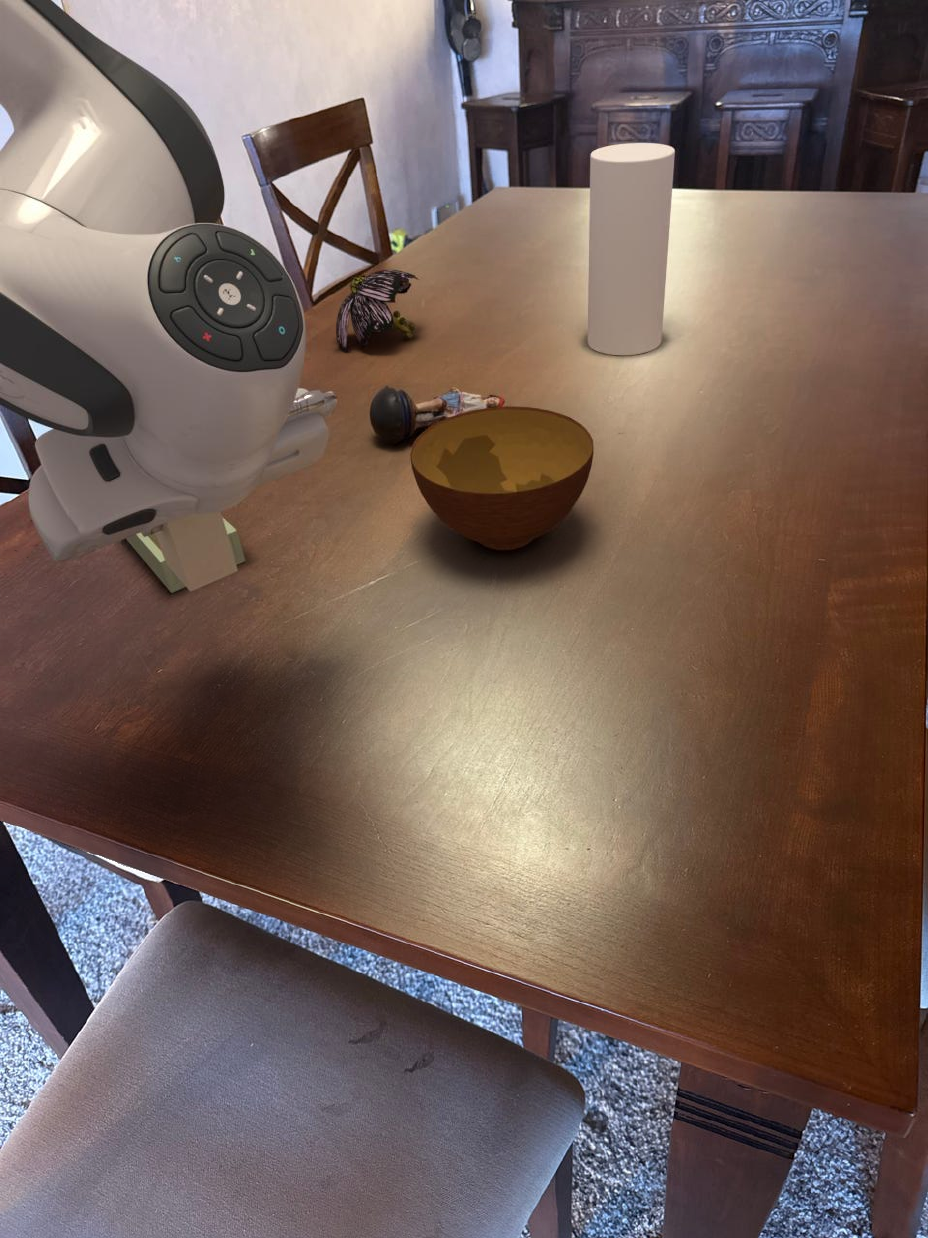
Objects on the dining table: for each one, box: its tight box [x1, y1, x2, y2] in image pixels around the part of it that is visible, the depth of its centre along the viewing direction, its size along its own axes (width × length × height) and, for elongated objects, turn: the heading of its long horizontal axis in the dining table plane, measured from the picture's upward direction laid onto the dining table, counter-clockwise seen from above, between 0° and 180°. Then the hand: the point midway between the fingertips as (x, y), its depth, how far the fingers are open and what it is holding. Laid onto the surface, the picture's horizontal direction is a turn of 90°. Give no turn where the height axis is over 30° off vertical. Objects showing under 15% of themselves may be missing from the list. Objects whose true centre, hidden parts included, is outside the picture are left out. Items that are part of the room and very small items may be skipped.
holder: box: [125, 516, 246, 594], centre depth 91 cm, size 8×15×4 cm, turn 37°
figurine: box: [369, 385, 506, 446], centre depth 107 cm, size 8×7×18 cm
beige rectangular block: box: [155, 511, 239, 592], centre depth 65 cm, size 4×5×9 cm
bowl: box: [410, 405, 595, 551], centre depth 86 cm, size 18×18×10 cm
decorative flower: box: [335, 269, 420, 353], centre depth 131 cm, size 14×12×15 cm
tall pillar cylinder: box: [587, 142, 676, 356], centre depth 119 cm, size 11×11×25 cm
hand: (181, 511), depth 65 cm, fingers closed on beige rectangular block, 4 cm apart
